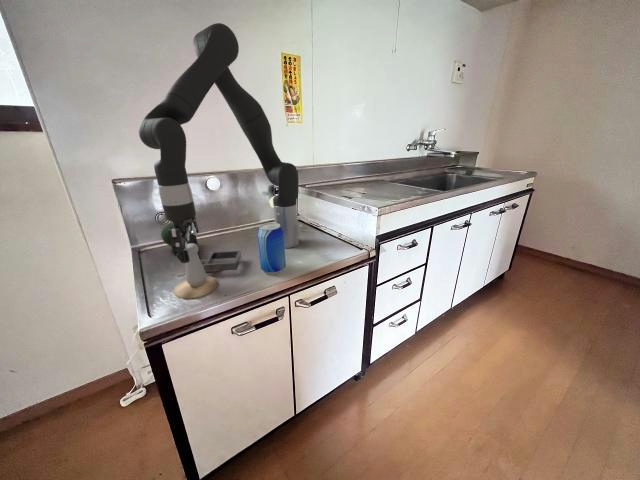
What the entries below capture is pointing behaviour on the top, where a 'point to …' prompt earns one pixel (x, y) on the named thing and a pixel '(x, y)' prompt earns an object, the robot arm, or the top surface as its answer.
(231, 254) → the ring stand
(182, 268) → the top surface
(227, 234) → the top surface
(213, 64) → the robot arm
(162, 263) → the top surface
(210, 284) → the disc
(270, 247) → the beer can
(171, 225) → the toy figurine
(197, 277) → the salt shaker
